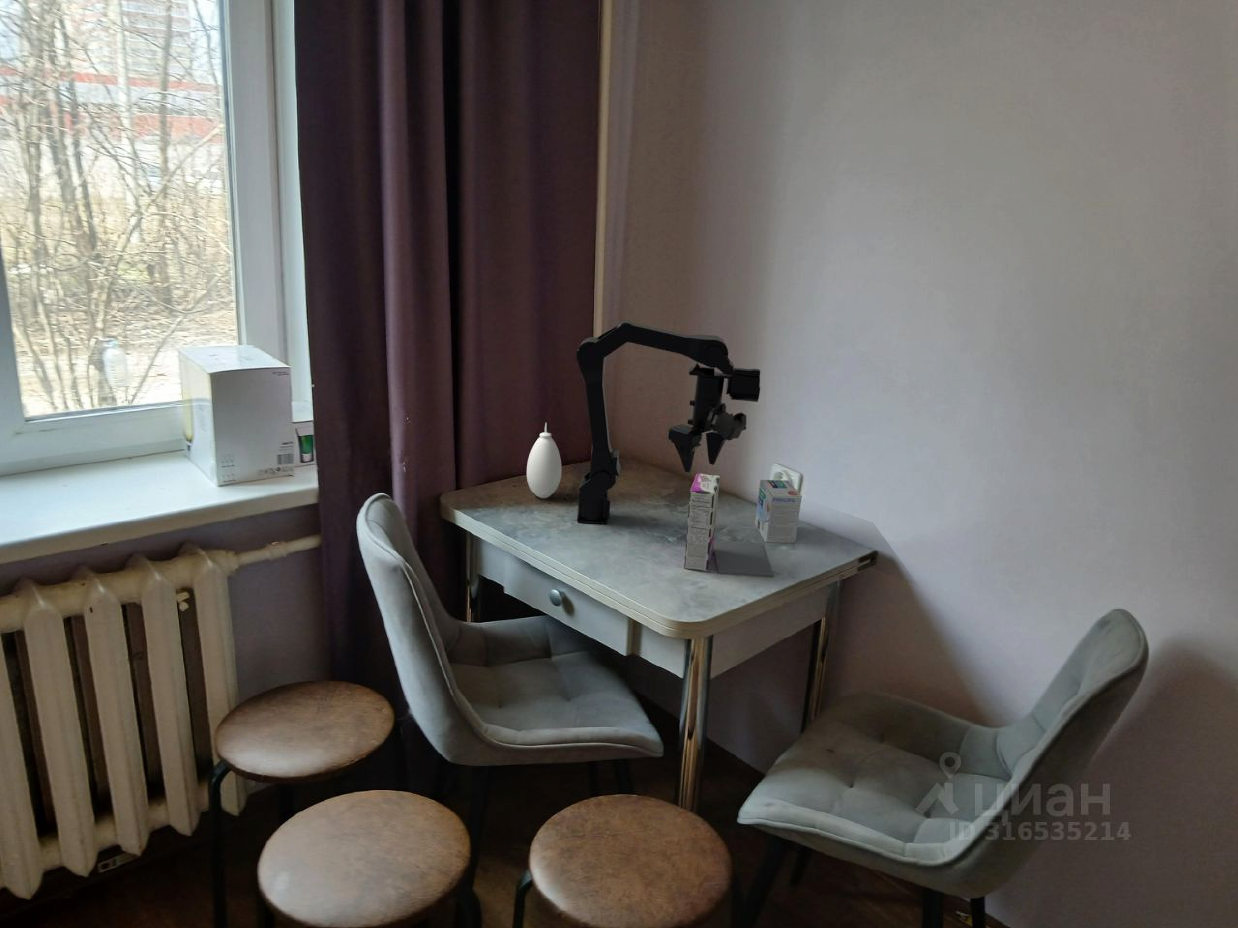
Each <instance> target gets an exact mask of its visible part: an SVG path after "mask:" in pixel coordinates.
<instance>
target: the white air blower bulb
mask: <svg viewBox="0 0 1238 928" xmlns="http://www.w3.org/2000/svg"><path fill="white" fill-rule="evenodd" d="M547 425H548V423H547V422H545V425H544V432H541V433H539V437H538V438H537V440H536V441H535V443H534V444H533V445H532V447H531V450H530V452H529V454H528V455H529V456H528V459H527V464H526V465H527V466H526V480H527V484H528V486H529V489H530V491H531V492H532V493H533V494H535V496H537V497H538V498H540V499H547V498H549V497H551V496H552V494H554V493H555V492H556V491H557V489H558V488H559V485H560V484H561V483H560V482H561V479H562V460H561V456H560V455H561V454H560V451H559V448H558V446H557V444H556V442H555V440H554V439H553V438H552V433H550V432H548V429H547V427H548V426H547Z"/></svg>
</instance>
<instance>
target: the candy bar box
mask: <svg viewBox="0 0 1238 928" xmlns="http://www.w3.org/2000/svg"><path fill="white" fill-rule="evenodd" d="M720 477H721V476H720V475H717V474H716V475H715V474H709V473H708V474H707V473H702V472H701V473H700V472H699V473H696V475H695V478H694V481H693V483H692V485H691V488H690V491H689V503H688V504H689V505H688V513H687V526H686V527H687V528H686V538H685V539H686V540H685V541H686V542H685V549H684V552H685V554H684V564H683V568H684V569H685V570H690V571H700V572H708V571H709V567H710V563H711V560H712V556H713V554H714V551H713V546H714V540H715V535H716V534H715V533H716V524H717V513H718V512H717V511H718V500H719V499H718V498H719V490H720Z"/></svg>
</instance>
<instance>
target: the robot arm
mask: <svg viewBox="0 0 1238 928" xmlns="http://www.w3.org/2000/svg"><path fill="white" fill-rule="evenodd" d="M626 343H631V344H636V345H639V346H640V345H641V346H644V347H649V348H651V349H652V348H653V349H656V350H661V351H666V352H669V353H675V354H678V355H679V354H680V355H682V356H684V357H687V358H689V359H691V360H692V361H694V362H695V364H694V365H693V366H691V367H690V368H689V369H688V375H689V376H696V381H695V382H696V383H695V389H694V390H695V391H694V399H690V400H689V406H691V407H692V416H691V418H688V419H687V423H686V424H687V425H686V424H681V423H680V424H676V425H674V426H672V427H670V428H669V429H668V431H667V440H669V441H670V442H671V443H673V445H674V447H675V449H676V451H677V454H678V456H679V458H680V461H681V464H682V467H683V470H684V472H685V473H691V471H692V467H693V461H694V457H695V452H696V450H697V449H698V448H700V447H701V446H702V444H701V441H702V439H703V435H705V439H706V448H707V458H708V463H709V464H710V465H712V466H714V465H715V463H716V461H717V459H718V457H719V455H720V453H721V451H722V448H723V446H724V444H725V442H726V441H732V440H734V439H739V437H740V435H741V434H742V432H743V431H746V430H747V415H746V414H744V413H743V412H742V411H741V412H738V413H736V414H733V413H729V412H727V405H726V402H723V401H722V400H723V392H724V384H725V379H726V385H725V395H728V396H729V398H730V399H729V400H730V401H731V400H732V401H742V402H743V401H744V402H754V403H757V402H758V401H759V400H760V399H759V398H760V395H761V394H760V392H761V386H760V385H761V370H760V369H759V368H743V367H742V368H741V367H735V366H734V362H733V361H731V359H730V358H729V349H728V346H727V344H726V342H725V340H724V339H723V338H722V337H720V336H718V335H714V334H713V335H712V334H711V335H710V334H708V335H707V334H682V333H678V332H674V331H671V330H670V331H669V330H666V329H660V328H658V327H657V328H656V327H654V326H653V327H652V326H648V325H645V324H644V325H643V324H640V323H634V322H632V321H630V320H622V321H621V322H620V323H619V322H618V324H617V325H616V326H614V327H612V328H611V329H609V330H607V331H605V332H604V333H601V334H600V335H599V336H597V337H593V336H591V337H588V338H587V337H586V338H585V339H584V340H582V342H581V343H580V345H579V346H578V348H577V350H576V354H575V357H576V361H577V365H578V369H579V371H580V375H581V377H582V380H583V382H584V385H585V391H586V402H587V410H588V412H587V413H588V421H589V429H590V440H591V447H592V448H591V458H590V466H589V471H588V472H586V473H585V474H584V475H583V476H582V479H581V482H580V485H579V488H578V491H579V492H578V509H577V516H576V517H577V518H576V522H577V523H585V524H599V525H607V524H608V520H609V519H610V513H611V512H610V511H611V510H610V509H611V497H609V490H611V489H612V488H613V487H614V486H615V484H616V481H617V477H620V473H621V468H622V466H621V464H620V462H619V461H620V458H619V457H620V450H619V449H618V450H613V447H612V446H611V441H610V432H609V421H608V412H607V411H608V410H607V400H606V392H605V382H604V381H605V373H606V360H607V356H609V355H611V354H613V352H615V351H616V350H618V349H619V348H620V347H622V346H623V345H625V344H626ZM700 364H702V365H703V366H701V365H700ZM716 368H717V370H719V371H720V372H718V371H715V369H716Z"/></svg>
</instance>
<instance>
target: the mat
mask: <svg viewBox="0 0 1238 928" xmlns="http://www.w3.org/2000/svg"><path fill="white" fill-rule="evenodd" d="M713 555H714V559H715V563H716V564H715V565H716V569H717V572H718V574H719V575H734V576H735V575H737V576H749V575H755V576H754V577H765V576H767V578H768V577H769V578H772V577H774V574H773V571H772V569H771V566H770V563H769V559H768V558H767V555H766V552H765V549H764V545H763V544H762V542H751V541H734V540H733V541H732V540H719V539H718V540H717V539H714V546H713Z"/></svg>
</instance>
